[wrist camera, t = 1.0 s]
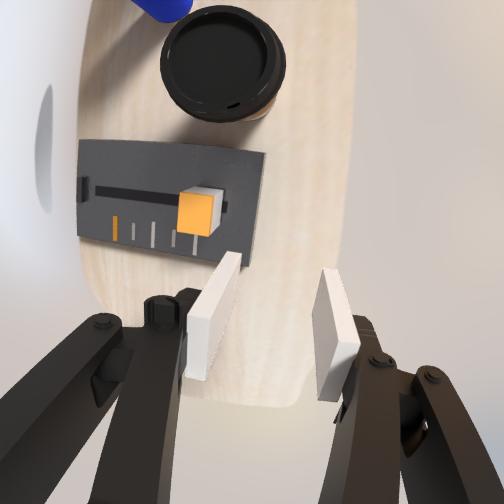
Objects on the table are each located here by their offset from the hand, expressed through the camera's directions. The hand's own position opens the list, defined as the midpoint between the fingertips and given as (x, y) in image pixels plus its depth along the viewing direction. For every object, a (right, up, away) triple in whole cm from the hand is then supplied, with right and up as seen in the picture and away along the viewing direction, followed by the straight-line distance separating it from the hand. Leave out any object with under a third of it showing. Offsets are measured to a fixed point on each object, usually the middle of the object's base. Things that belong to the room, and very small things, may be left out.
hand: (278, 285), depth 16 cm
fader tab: (-6, +6, +16) cm, 18 cm away
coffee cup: (-2, +18, +14) cm, 23 cm away
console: (-11, +8, +19) cm, 23 cm away
